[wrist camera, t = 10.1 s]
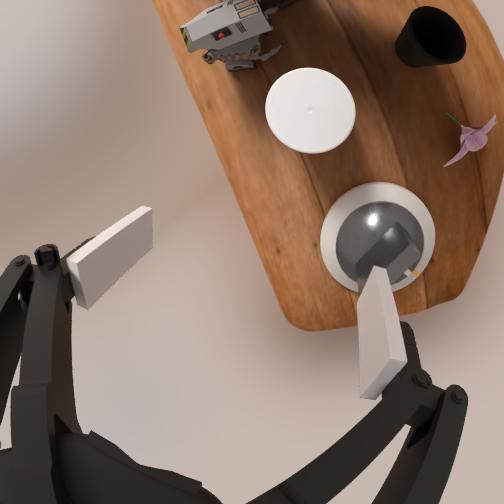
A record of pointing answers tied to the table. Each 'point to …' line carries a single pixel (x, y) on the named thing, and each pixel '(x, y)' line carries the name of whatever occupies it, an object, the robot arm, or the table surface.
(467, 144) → the lily
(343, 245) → the dial
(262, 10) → the figurine
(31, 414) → the robot arm
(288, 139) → the supplement tub
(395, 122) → the table surface
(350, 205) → the dial base
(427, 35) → the cup
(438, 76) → the table surface
